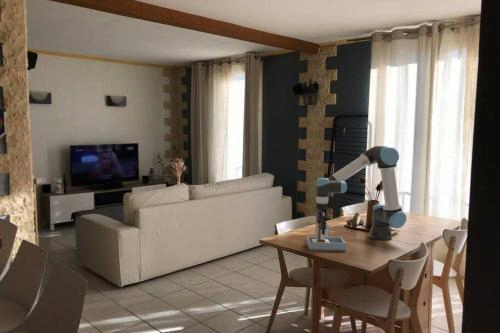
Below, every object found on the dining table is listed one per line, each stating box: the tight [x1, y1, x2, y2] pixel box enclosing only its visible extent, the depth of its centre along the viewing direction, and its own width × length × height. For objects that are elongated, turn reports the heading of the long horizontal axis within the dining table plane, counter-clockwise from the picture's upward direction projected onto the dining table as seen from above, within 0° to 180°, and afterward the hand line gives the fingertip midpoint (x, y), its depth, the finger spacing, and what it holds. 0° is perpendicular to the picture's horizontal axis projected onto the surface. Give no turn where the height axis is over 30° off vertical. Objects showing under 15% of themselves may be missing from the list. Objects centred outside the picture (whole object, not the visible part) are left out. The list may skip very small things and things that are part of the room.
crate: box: [306, 236, 347, 252], centre depth 252 cm, size 22×14×5 cm, turn 89°
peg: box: [318, 223, 324, 242], centre depth 251 cm, size 4×4×14 cm
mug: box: [314, 221, 332, 237], centre depth 272 cm, size 12×8×11 cm
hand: (321, 236), depth 252 cm, fingers open, 12 cm apart
